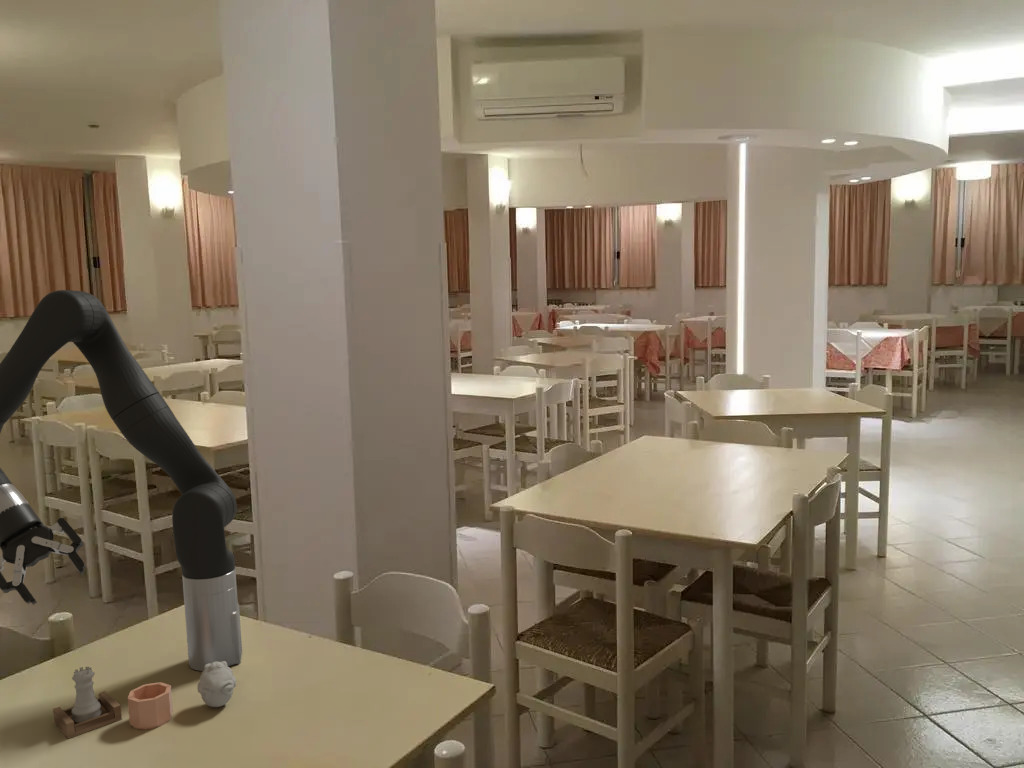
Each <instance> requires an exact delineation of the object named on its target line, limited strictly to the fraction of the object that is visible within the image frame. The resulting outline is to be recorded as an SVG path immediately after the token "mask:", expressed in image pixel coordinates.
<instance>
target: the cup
mask: <svg viewBox="0 0 1024 768" xmlns="http://www.w3.org/2000/svg"><path fill="white" fill-rule="evenodd" d="M127 705H128V706H127V708H128V717H129V718H128V719H129V725H130V726H131V727H132V726H133V727H132V728H133V729H136V730H151V729H156V728H159V727H161V726H163V725H165V724H167V723H168V722H170V721H171V719H172V718H173V712H174V706H173V695H172V685H171V684H168V683H164V682H160V681H158V682H154V683H144V684H143V685H140V686H138V687H136V688H134V689H132V690H130V691H129V694H128V696H127Z"/></svg>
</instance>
